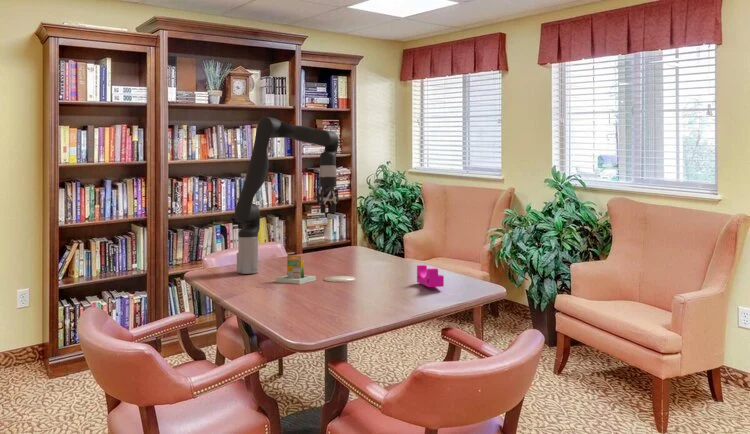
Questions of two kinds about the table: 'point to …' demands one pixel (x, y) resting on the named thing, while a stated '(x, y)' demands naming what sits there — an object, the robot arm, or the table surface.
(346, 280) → the cream plate
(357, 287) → the table surface
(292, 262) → the crayon box
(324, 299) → the table surface
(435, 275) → the toy block
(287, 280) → the rectangular frame
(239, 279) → the table surface
